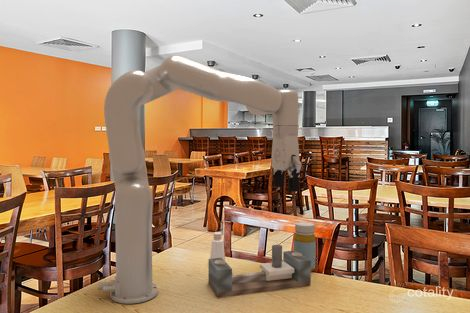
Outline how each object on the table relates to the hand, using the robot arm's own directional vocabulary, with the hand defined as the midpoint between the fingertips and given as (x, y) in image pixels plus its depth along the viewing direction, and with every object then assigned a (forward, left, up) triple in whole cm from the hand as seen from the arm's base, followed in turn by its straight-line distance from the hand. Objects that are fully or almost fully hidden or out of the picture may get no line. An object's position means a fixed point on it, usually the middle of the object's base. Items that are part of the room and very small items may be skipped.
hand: (285, 188), depth 114 cm
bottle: (+10, +6, -28) cm, 30 cm away
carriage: (-4, -2, -26) cm, 26 cm away
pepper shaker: (-16, +18, -28) cm, 37 cm away
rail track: (-9, -2, -28) cm, 29 cm away
